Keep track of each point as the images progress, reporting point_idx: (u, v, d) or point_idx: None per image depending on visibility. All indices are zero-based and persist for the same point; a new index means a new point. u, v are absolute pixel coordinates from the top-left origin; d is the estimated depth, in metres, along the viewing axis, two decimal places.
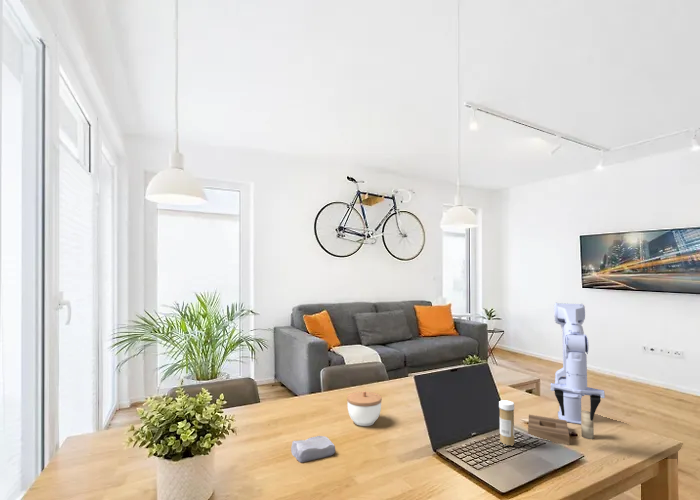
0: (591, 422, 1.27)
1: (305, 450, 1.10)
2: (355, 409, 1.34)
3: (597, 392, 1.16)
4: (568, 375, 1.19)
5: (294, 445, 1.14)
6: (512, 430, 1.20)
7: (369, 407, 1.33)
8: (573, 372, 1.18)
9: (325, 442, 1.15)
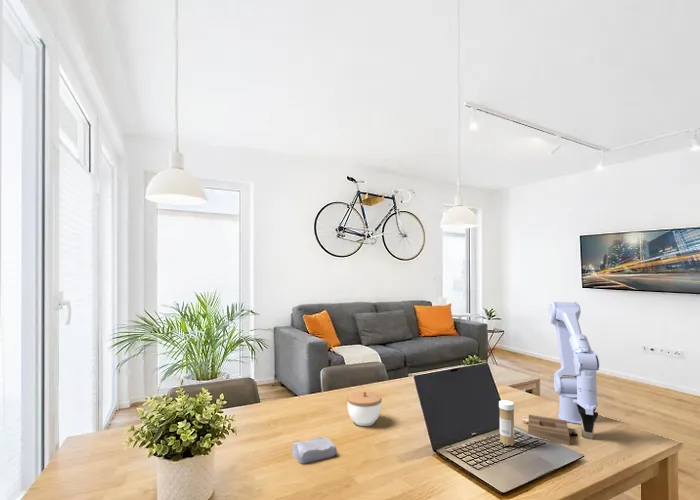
0: None
1: (306, 451, 1.09)
2: (355, 409, 1.34)
3: (584, 407, 1.24)
4: None
5: (295, 446, 1.13)
6: (512, 430, 1.20)
7: (369, 407, 1.33)
8: (586, 388, 1.27)
9: (326, 443, 1.14)
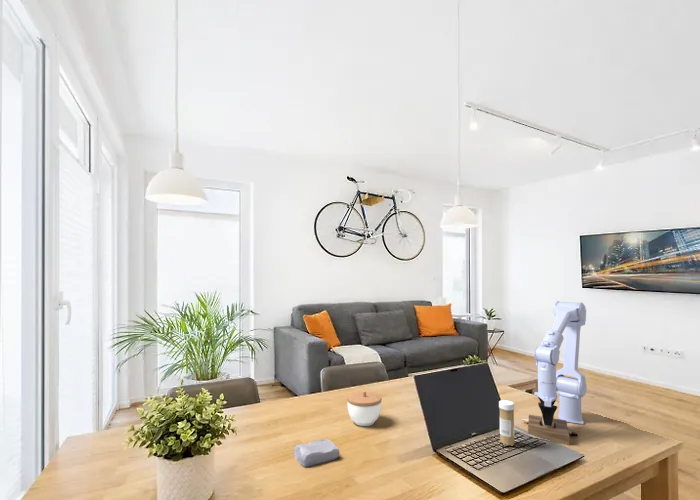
0: None
1: (309, 454, 1.07)
2: (355, 409, 1.34)
3: (543, 399, 1.27)
4: None
5: (297, 449, 1.12)
6: (512, 430, 1.20)
7: (369, 407, 1.33)
8: (540, 380, 1.31)
9: (329, 446, 1.13)
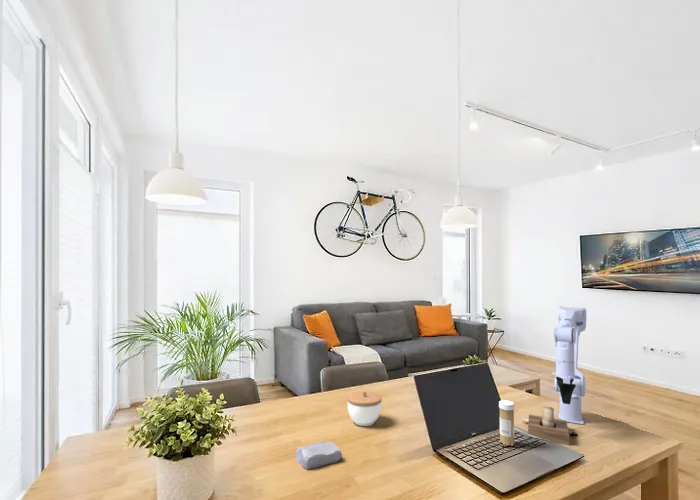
0: (551, 417, 1.29)
1: (311, 456, 1.06)
2: (355, 409, 1.34)
3: (562, 377, 1.30)
4: None
5: (299, 451, 1.10)
6: (512, 430, 1.20)
7: (369, 407, 1.33)
8: (560, 359, 1.33)
9: (331, 448, 1.11)
